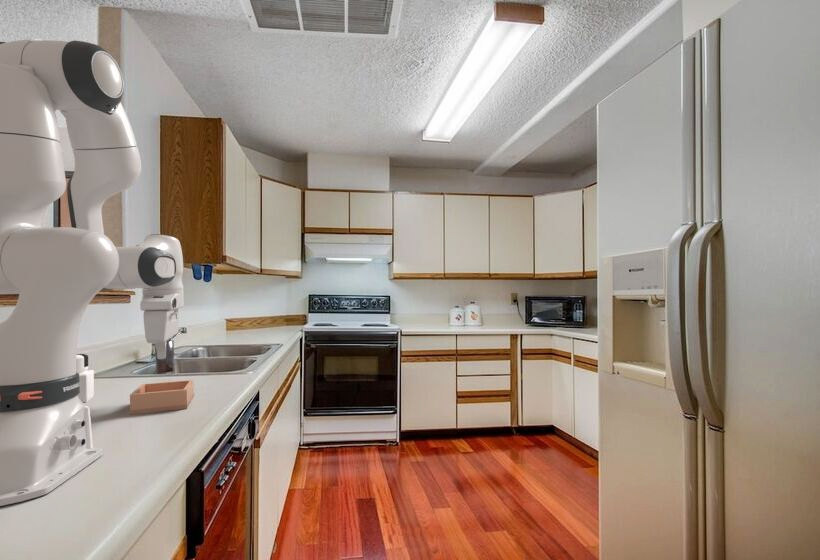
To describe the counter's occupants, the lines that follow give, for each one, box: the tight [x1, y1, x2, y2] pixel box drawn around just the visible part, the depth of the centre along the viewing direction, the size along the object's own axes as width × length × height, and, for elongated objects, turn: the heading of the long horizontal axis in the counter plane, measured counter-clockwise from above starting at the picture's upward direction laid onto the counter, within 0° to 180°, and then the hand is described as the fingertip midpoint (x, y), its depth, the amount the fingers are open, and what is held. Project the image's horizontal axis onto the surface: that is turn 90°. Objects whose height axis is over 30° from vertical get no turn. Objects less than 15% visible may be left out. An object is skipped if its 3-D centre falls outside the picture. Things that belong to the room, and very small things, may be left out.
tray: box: [129, 379, 195, 415], centre depth 103 cm, size 12×12×4 cm
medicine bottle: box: [76, 353, 95, 404], centre depth 108 cm, size 7×7×12 cm
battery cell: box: [154, 339, 175, 374], centre depth 104 cm, size 4×4×8 cm
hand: (164, 356), depth 104 cm, fingers closed on battery cell, 4 cm apart
